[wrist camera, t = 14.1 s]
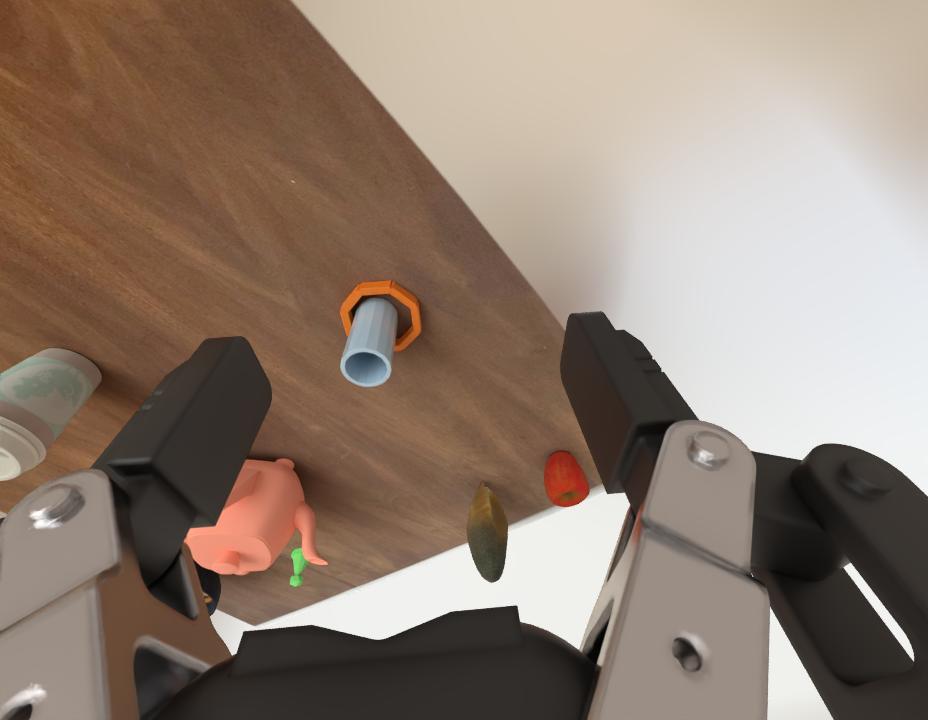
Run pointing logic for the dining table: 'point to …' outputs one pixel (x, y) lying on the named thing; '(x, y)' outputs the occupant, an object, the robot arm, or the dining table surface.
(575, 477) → the apple
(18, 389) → the coffee cup
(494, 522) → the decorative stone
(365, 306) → the cup
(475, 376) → the dining table surface
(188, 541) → the teapot
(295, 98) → the dining table surface
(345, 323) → the ring
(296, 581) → the game piece
